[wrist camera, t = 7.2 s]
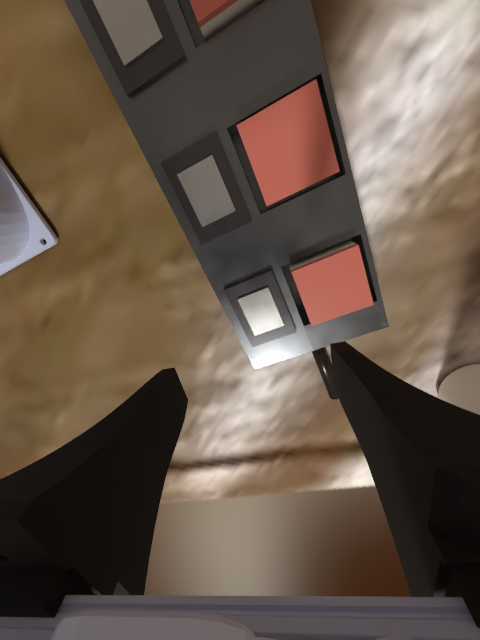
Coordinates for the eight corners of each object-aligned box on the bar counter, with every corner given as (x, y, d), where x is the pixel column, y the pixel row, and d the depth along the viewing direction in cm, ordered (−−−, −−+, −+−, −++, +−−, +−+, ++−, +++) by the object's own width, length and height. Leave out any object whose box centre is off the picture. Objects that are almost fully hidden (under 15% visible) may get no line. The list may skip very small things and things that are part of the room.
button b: (266, 204, 17) (266, 206, 14) (240, 136, 15) (236, 125, 13) (327, 175, 16) (339, 171, 13) (306, 99, 14) (316, 79, 12)
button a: (305, 309, 20) (311, 326, 17) (287, 261, 18) (291, 272, 16) (358, 290, 19) (373, 304, 16) (344, 237, 17) (358, 244, 15)
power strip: (283, 404, 25) (286, 433, 22) (69, -28, 13) (12, -95, 10) (389, 375, 23) (408, 403, 20) (243, -184, 11) (236, -333, 8)
